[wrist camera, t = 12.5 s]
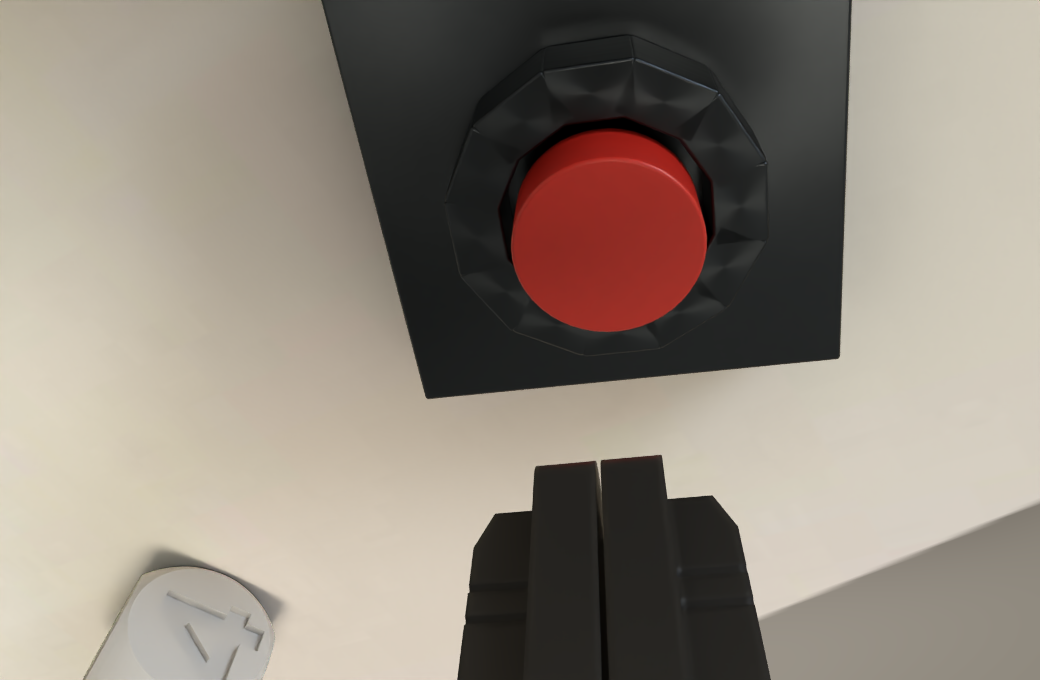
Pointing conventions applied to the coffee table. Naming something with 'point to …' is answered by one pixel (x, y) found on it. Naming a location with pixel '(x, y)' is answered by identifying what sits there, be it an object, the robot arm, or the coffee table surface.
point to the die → (186, 630)
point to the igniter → (598, 105)
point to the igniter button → (608, 231)
